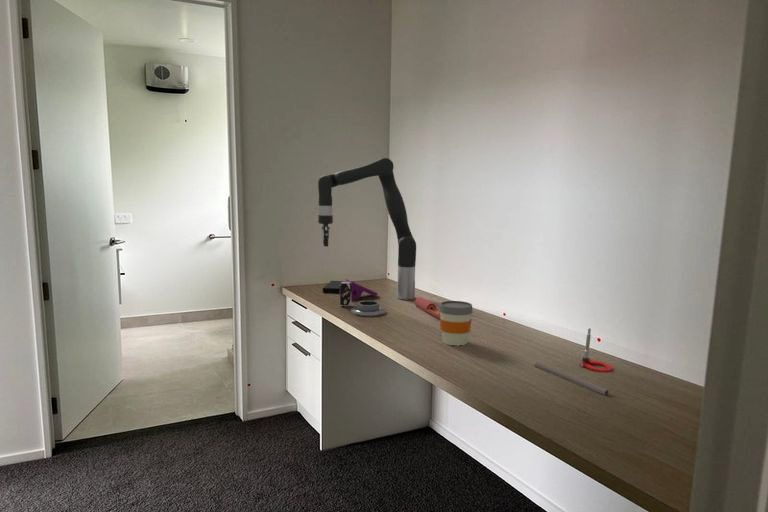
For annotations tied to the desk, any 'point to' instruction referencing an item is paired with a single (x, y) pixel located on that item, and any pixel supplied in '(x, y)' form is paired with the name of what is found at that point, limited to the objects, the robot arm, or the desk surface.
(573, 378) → the metal rod
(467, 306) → the reusable coffee cup
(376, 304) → the rosette socket
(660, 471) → the desk surface
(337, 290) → the external hard drive
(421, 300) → the blood vessel
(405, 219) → the robot arm
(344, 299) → the beverage can
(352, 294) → the mounting bracket
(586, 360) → the tow hook
